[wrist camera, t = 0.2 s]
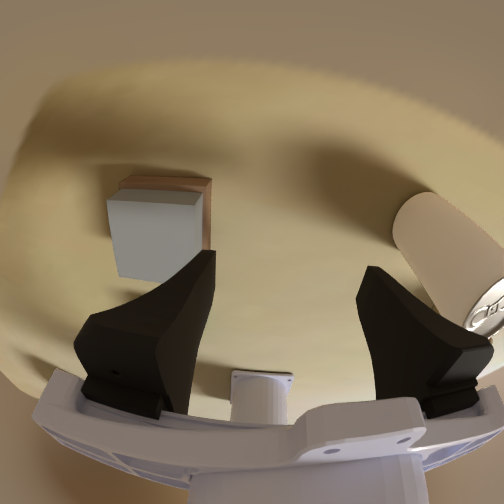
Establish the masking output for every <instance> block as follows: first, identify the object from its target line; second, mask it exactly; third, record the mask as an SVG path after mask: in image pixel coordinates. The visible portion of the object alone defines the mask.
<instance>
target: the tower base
mask: <svg viewBox="0 0 504 504" xmlns="http://www.w3.org/2000/svg"><path fill="white" fill-rule="evenodd" d="M211 186H212V179H209V178H191V177H167V176H129V177H127V178H126V179H124V180H123V181H121V182H120V183H119V190H121V189H146V190H166V191H183V192H197V193H203V208H202V250H203V249H204V250H210V235H211Z"/></svg>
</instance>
